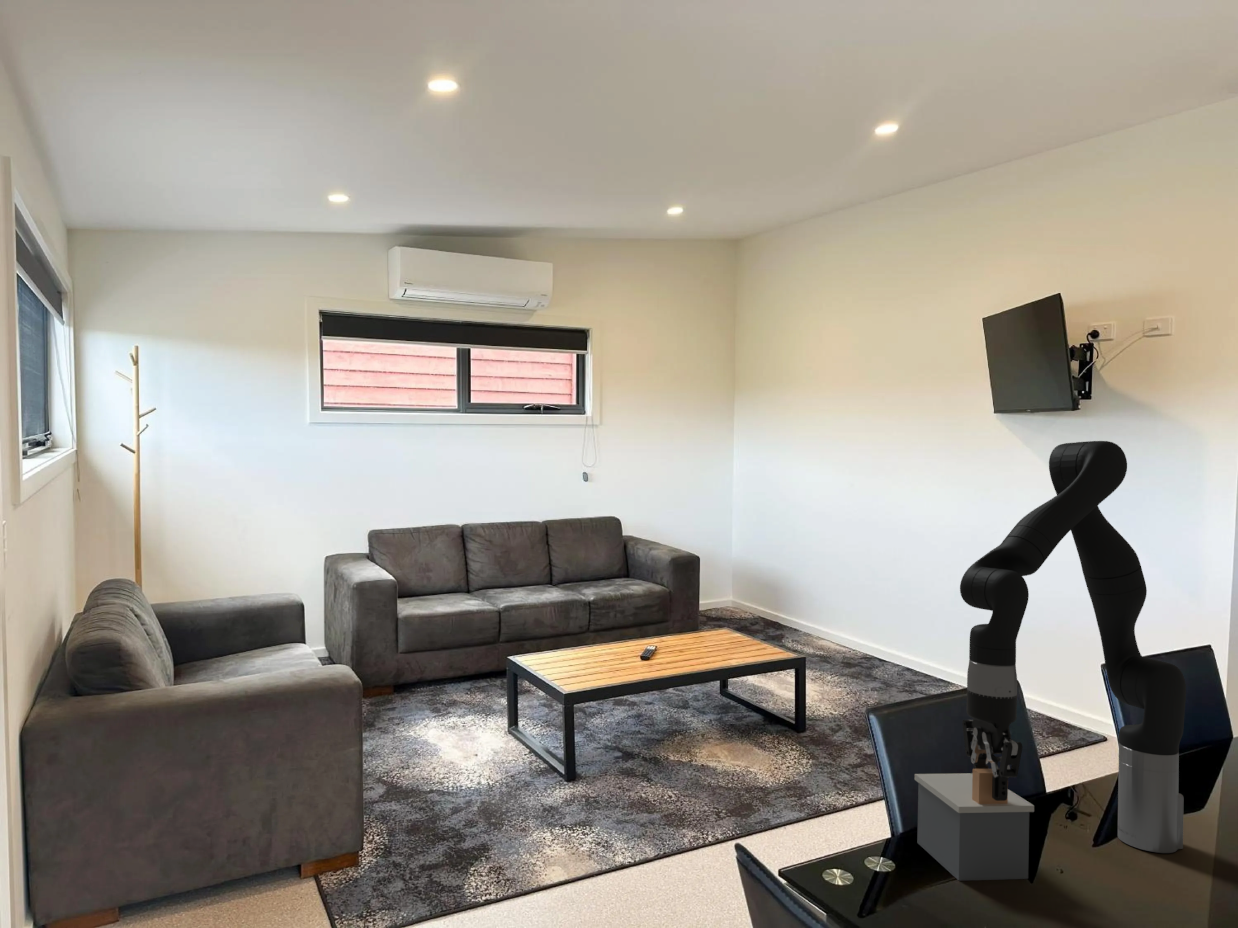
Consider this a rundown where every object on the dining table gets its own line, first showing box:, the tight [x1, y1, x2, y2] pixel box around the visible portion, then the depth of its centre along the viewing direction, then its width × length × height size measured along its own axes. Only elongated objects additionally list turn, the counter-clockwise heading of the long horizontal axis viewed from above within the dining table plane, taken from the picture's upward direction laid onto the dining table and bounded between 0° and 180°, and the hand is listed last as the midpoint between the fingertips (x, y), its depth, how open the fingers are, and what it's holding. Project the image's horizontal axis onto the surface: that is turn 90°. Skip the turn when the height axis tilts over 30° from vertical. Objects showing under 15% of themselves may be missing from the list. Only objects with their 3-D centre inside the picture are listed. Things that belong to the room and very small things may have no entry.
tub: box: [916, 783, 1030, 881], centre depth 140 cm, size 12×14×11 cm
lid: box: [914, 768, 1035, 813], centre depth 140 cm, size 13×15×7 cm
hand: (989, 792), depth 135 cm, fingers open, 5 cm apart
